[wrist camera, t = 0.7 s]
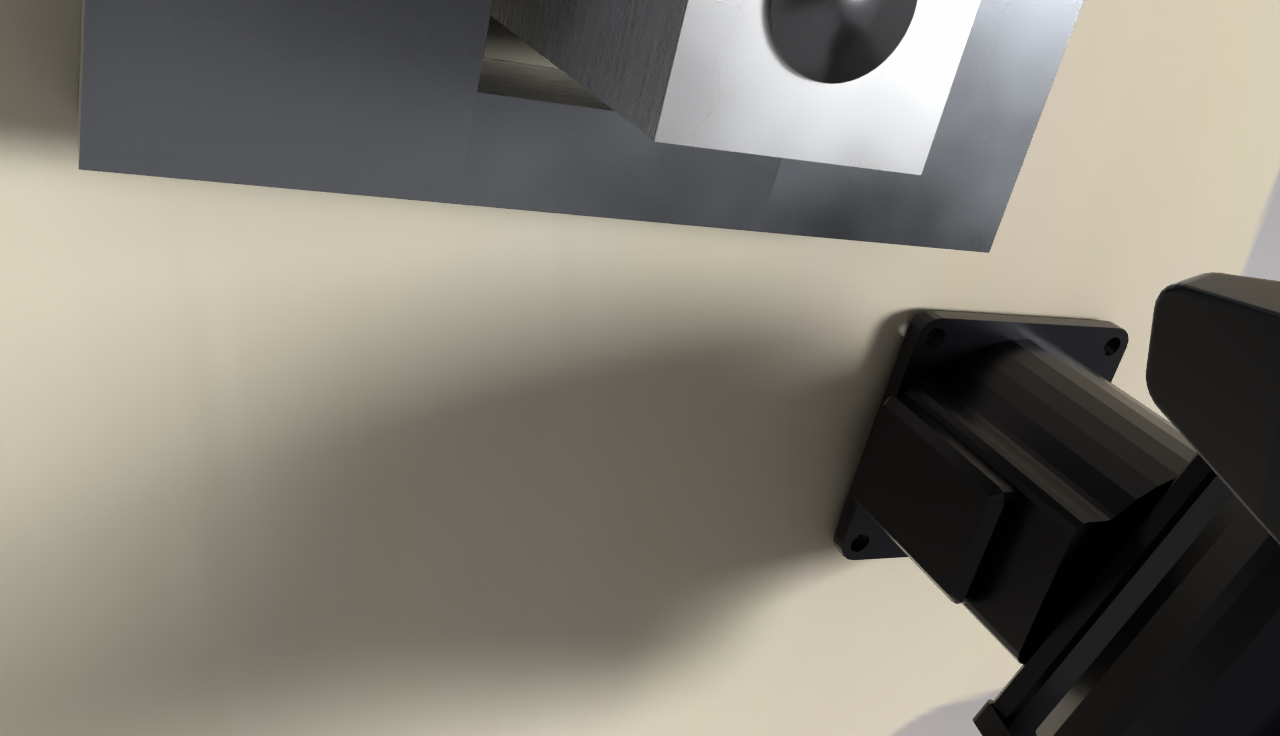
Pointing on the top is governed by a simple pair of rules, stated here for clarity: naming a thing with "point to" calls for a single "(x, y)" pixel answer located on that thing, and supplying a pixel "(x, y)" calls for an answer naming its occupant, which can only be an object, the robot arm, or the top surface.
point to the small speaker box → (763, 70)
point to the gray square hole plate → (518, 121)
